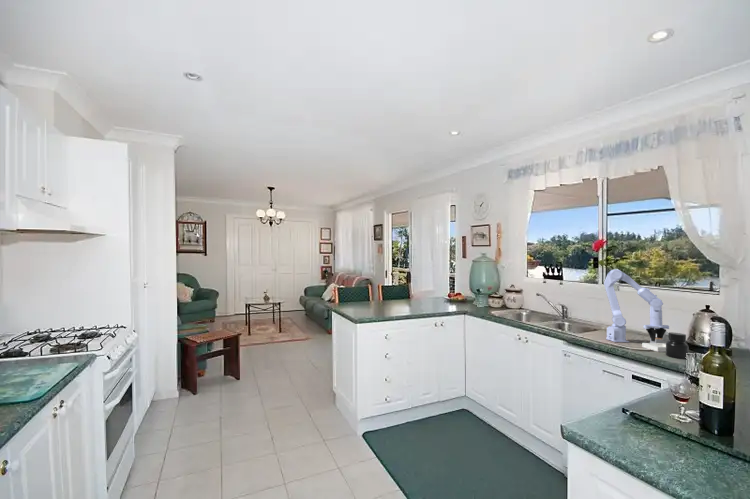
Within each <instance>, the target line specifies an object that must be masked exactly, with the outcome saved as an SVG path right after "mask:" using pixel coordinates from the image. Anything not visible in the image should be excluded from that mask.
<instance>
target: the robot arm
mask: <svg viewBox="0 0 750 499" xmlns="http://www.w3.org/2000/svg"><path fill="white" fill-rule="evenodd" d="M619 280H620V281H622V282H625V283H627V284H628V285H630V287H632V288H633V289H634V290H636V291H637V292H636V293H637V295H638V296H639V297H640V298H642V300H644V301H645V302H646V303H648V305H649V324H643V329H645V330H646V331H647V333H648V335H649V339H650V338H651V341H655V338H656V334H657V337H658V338H663V335H664V333H665V332H667V330H669V329H670V326H669V325H668V324H663V310H662V307H663V305H664V303H663V300H662V299H660V298H659V297H658V295H657V294H654V293H653V292H652V291H651V289H650V288H647V287H642V286H640V285H639V283H638V282H636V281H635V280H634V279H633V278H632V277H631V276H630V275H628V274H626V273H625V272H623V271H622V270H620V269H618V268H615V269H610V271H609V272H608V273H607V274H606V277H605V280H604V282H603V286H604V289H605V293H606V296H607V299H608V304H609V306H610V310H611V316H612V318H611V320H612V324H611V326H610V325H609V326H607V328H606V337H605V339H606V340H607V341H612V342H613V343H614V342H615V343H630V341H629V340H626V338H627V326H626V324H627V320H626V318H625V317H624V316H623V313H622V311H621V307H620V304H619V300H618V297H617V293H616V290H615V286H614V285H615V283H616V282H617V281H619Z"/></svg>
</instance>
